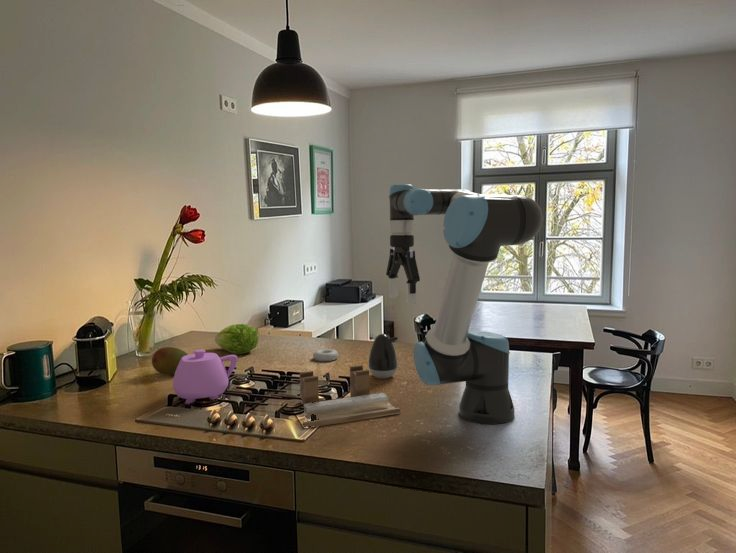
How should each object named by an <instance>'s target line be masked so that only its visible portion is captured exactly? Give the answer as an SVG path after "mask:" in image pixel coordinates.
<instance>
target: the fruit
mask: <svg viewBox="0 0 736 553" xmlns="http://www.w3.org/2000/svg"><path fill="white" fill-rule="evenodd" d="M186 355H189V354H188V353H187V352H186V351H184V350H183V349H180V348H177V347H174V346H172V347H171V346H167V347H165V346H164V347H161V348H159V349H156V351H155V352H154V353H153V355H152V358H151V365H152V367H153V369H154V370H155V371H156V372H157V373H160V374H163V375H175V372H176V369H177V367H178V364H179V362H180V360H181V358H182V357H183V356H186Z"/></svg>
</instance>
